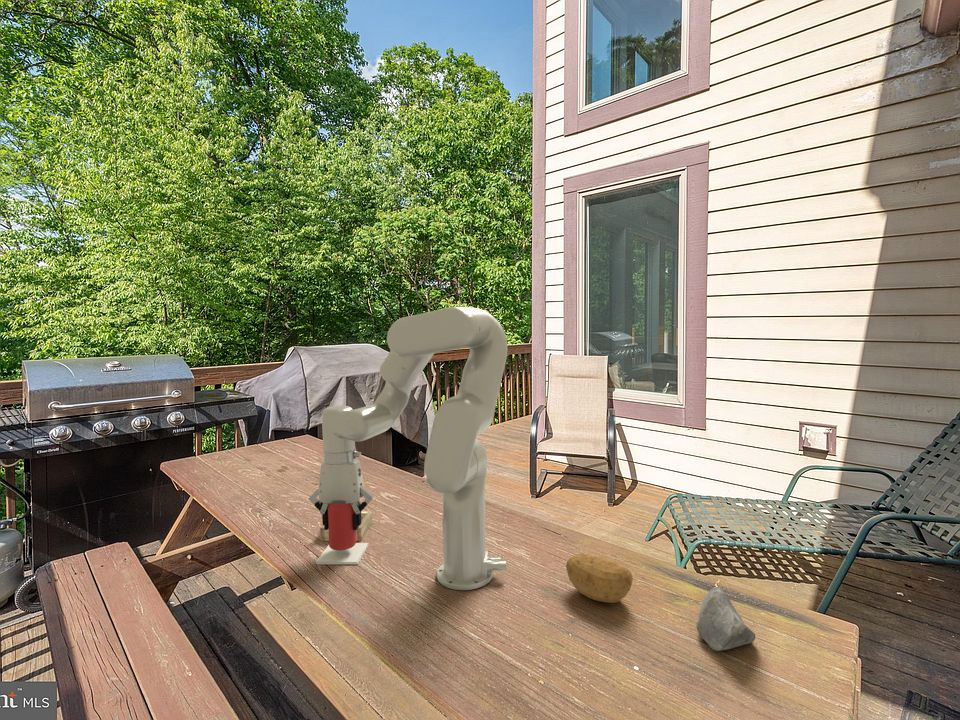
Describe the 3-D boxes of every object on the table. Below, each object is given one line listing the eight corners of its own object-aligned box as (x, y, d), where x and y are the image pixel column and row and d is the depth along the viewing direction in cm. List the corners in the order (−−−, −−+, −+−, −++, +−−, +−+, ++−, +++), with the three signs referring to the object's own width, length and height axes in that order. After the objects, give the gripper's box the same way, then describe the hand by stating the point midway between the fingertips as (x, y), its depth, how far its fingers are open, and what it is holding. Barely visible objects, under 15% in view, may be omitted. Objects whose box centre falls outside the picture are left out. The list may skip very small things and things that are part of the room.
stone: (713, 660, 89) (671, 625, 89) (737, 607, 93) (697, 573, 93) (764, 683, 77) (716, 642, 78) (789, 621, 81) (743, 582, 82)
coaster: (368, 545, 124) (368, 542, 124) (357, 564, 114) (357, 561, 114) (330, 545, 125) (330, 542, 125) (315, 564, 115) (315, 561, 115)
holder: (372, 523, 138) (372, 511, 138) (361, 540, 127) (361, 527, 127) (334, 523, 138) (334, 511, 138) (320, 540, 127) (320, 527, 127)
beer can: (349, 552, 116) (347, 504, 115) (323, 550, 117) (322, 502, 116) (361, 540, 122) (359, 494, 121) (337, 538, 123) (335, 493, 122)
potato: (580, 575, 108) (580, 541, 107) (640, 599, 98) (641, 561, 98) (555, 594, 101) (555, 557, 100) (618, 621, 91) (618, 581, 90)
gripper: (378, 452, 121) (380, 521, 122) (310, 452, 122) (313, 521, 123) (370, 461, 114) (373, 534, 115) (298, 461, 114) (301, 534, 116)
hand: (342, 527), depth 119 cm, fingers closed on beer can, 6 cm apart
